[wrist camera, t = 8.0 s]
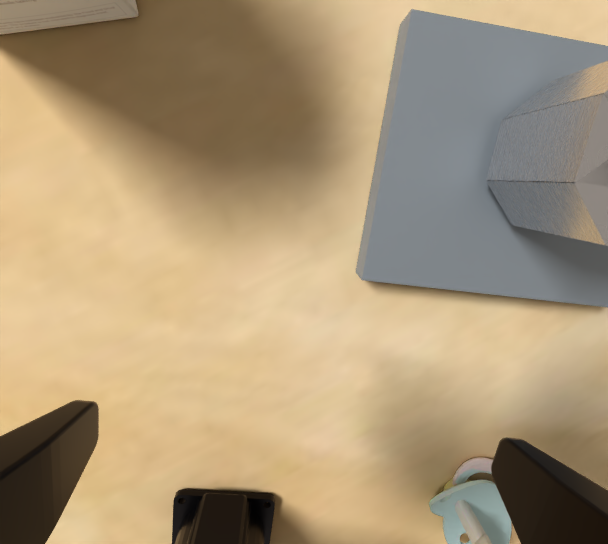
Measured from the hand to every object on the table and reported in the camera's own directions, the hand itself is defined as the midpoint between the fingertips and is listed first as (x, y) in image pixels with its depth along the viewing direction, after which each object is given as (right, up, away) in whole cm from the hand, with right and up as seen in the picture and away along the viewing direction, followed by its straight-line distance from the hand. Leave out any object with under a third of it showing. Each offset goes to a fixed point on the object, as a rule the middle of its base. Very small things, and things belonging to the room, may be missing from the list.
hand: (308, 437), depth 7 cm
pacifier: (+12, -12, +17) cm, 24 cm away
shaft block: (+11, +9, +10) cm, 17 cm away
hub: (+12, +9, +8) cm, 17 cm away
